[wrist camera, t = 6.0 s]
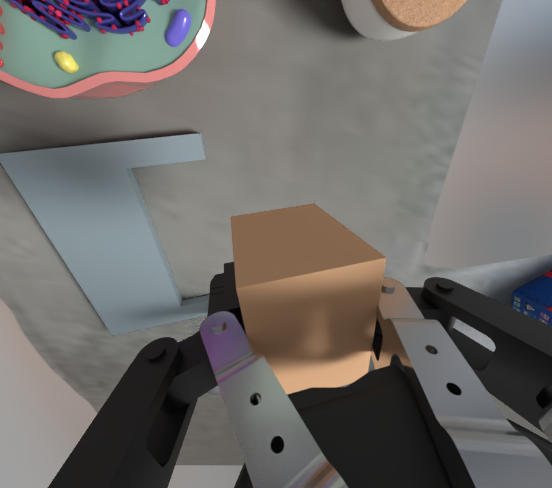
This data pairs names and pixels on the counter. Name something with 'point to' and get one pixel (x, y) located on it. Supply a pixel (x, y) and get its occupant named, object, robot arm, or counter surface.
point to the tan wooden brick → (307, 295)
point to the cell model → (98, 44)
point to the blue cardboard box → (535, 298)
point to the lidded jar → (397, 16)
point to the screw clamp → (109, 225)
